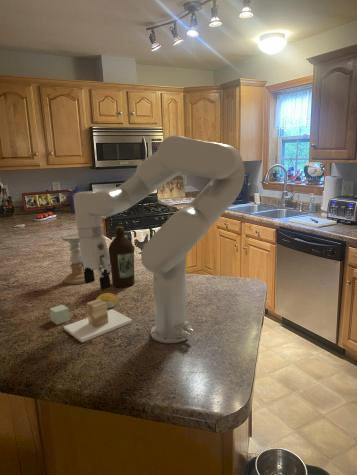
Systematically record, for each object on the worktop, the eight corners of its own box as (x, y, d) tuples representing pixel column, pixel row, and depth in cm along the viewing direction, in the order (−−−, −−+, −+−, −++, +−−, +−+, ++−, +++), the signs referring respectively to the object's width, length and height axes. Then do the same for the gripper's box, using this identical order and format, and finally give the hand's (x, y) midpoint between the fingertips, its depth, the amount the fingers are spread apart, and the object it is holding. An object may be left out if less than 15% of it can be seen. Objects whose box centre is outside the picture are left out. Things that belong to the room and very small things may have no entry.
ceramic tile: (132, 322, 115) (131, 319, 115) (82, 342, 103) (81, 339, 103) (112, 311, 124) (112, 309, 124) (63, 329, 112) (63, 326, 112)
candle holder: (58, 282, 156) (53, 238, 152) (77, 274, 167) (73, 232, 162) (78, 286, 150) (74, 240, 146) (97, 277, 161) (94, 234, 157)
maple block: (108, 322, 113) (106, 302, 112) (96, 327, 110) (94, 306, 109) (100, 318, 116) (99, 298, 115) (88, 323, 113) (86, 303, 112)
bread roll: (116, 298, 136) (116, 289, 135) (118, 308, 127) (117, 297, 127) (95, 301, 134) (94, 291, 133) (94, 310, 126) (94, 300, 125)
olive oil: (107, 283, 153) (102, 227, 148) (129, 278, 159) (125, 223, 153) (117, 290, 144) (113, 230, 139) (140, 284, 150) (136, 227, 144)
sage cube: (69, 320, 118) (68, 308, 117) (56, 325, 115) (55, 312, 114) (63, 316, 121) (62, 304, 120) (51, 320, 118) (49, 308, 117)
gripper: (116, 232, 103) (123, 287, 106) (88, 227, 115) (94, 277, 119) (94, 237, 98) (101, 295, 101) (66, 232, 111) (74, 283, 114)
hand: (97, 285), depth 110 cm, fingers open, 9 cm apart
